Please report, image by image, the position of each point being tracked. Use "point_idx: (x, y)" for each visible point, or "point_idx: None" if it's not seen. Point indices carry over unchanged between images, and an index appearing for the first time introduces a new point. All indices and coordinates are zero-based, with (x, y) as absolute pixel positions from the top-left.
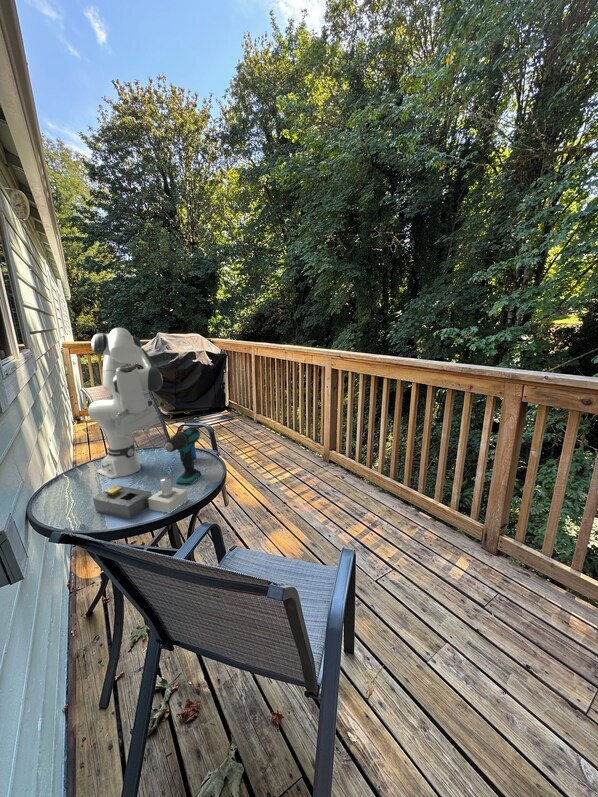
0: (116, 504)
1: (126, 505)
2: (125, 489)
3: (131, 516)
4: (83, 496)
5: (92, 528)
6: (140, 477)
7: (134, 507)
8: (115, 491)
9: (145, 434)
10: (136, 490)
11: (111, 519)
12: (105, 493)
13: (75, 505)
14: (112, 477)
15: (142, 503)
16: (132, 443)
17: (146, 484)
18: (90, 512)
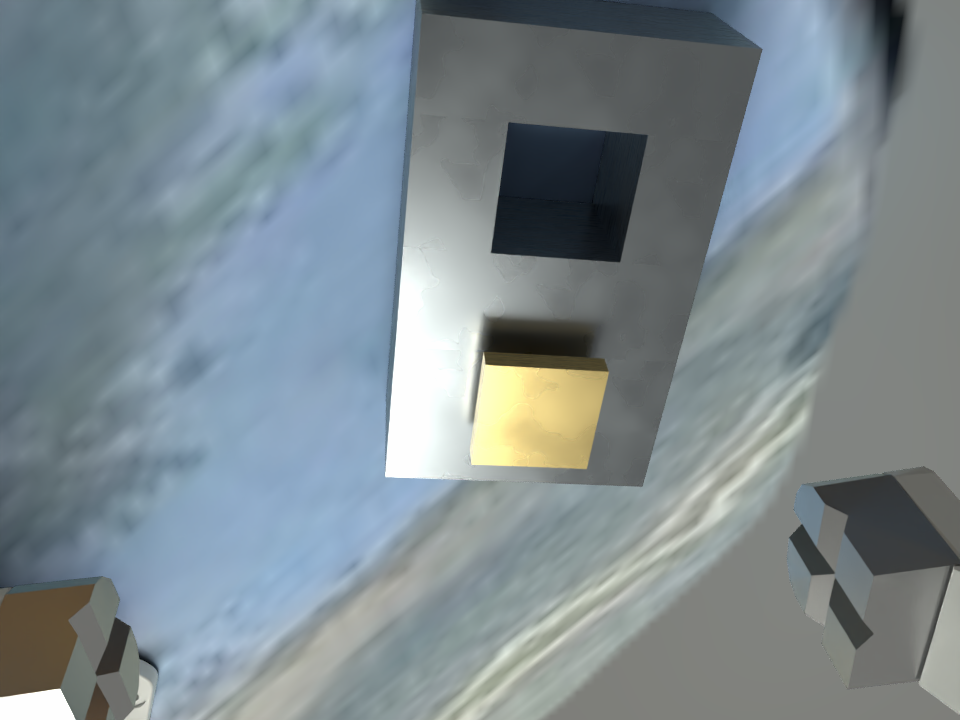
0: (713, 214)
1: (747, 80)
2: (440, 345)
3: (703, 17)
4: (444, 637)
5: (844, 246)
6: (24, 492)
7: (671, 28)
8: (569, 367)
9: (128, 628)
10: (434, 218)
11: None
12: None
13: (563, 591)
14: (148, 671)
15: (564, 13)
16: (917, 470)
17: (105, 348)
18: None
